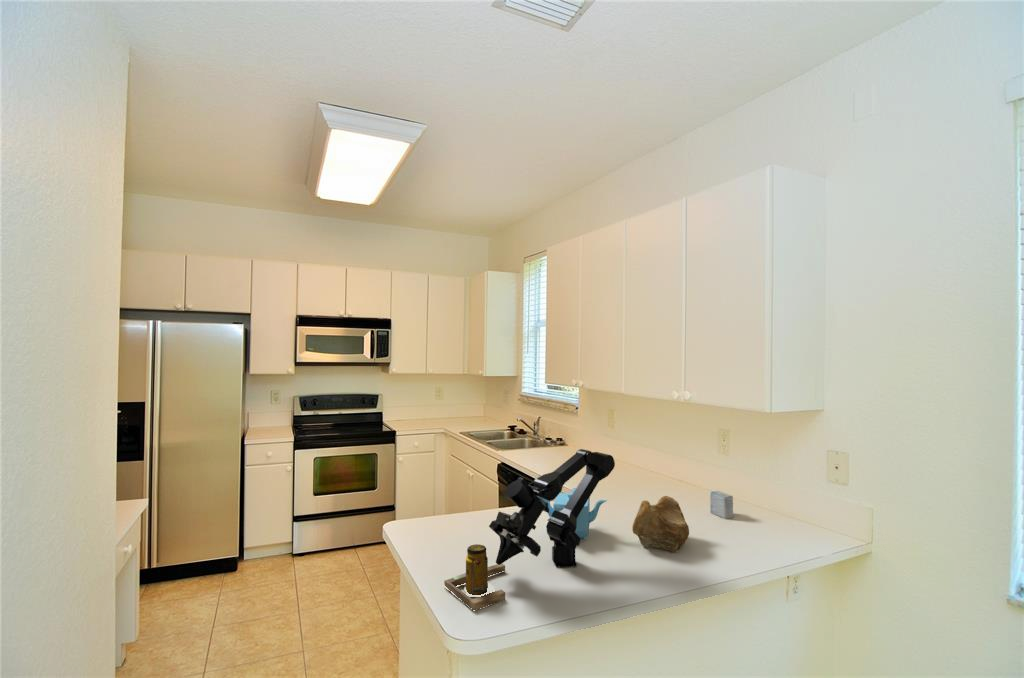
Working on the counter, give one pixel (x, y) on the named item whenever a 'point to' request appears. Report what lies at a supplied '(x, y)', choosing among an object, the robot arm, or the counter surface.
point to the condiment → (476, 570)
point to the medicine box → (721, 504)
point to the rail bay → (479, 601)
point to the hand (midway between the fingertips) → (497, 563)
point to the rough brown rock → (661, 525)
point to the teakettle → (583, 517)
